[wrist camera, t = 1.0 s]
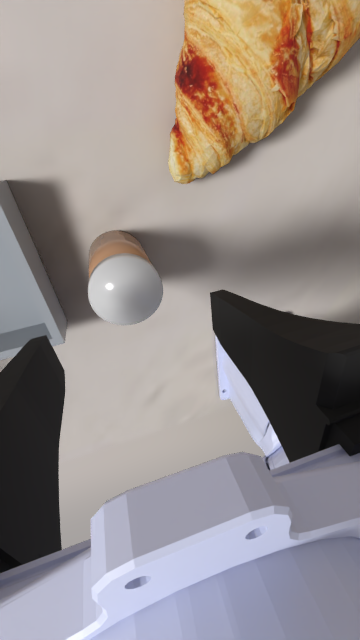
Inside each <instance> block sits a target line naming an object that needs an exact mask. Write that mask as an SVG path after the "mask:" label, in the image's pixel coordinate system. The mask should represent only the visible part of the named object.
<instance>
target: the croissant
mask: <svg viewBox="0 0 360 640" xmlns="http://www.w3.org/2000/svg"><path fill="white" fill-rule="evenodd" d="M184 18H185V39H184V43H183V46H182V50H181V52H180V55H179V62H178V65H177V69H176V75H175V86H176V100H177V101H176V108H175V112H176V117H177V118H176V119H175V125H174V127H173V128H172V131H171V133H170V154H169V160H168V163H169V171H170V173H171V175H172V177H173V179H174V181H175V182H178V183H181V184H187V183H190V182H192V181H194V179H195V178H203V177H205V175H206V174H207V173H208V172H210V173H212V174H214V173H215V172H217V171H218V170H219V169H220V167H222V166H224V165H226V164H228V163H229V162H230V160H231V158H232V156H233V155H236V154H237V153H238V152H240V151H241V150H242V149H243V148H245V147H246V146H247V145H248V144H249V143H256V142H258V141H260V140H261V139H263V138H266V137H268V136H269V135H270V134H271V133H272V132H273V130H274V129H275V128H276V127H278V126H279V125H280V124H281V123H283V122H284V120H285V119H286V117H287V116H288V115H289V114H290V112H292V111H293V110H294V108H295V104H296V100H297V98H298V97H300V96H301V95H302V94H303V93H304V92H305V91H306V89H308V88H310V87H311V86H312V84H313V83H314V82H315V81H317V80H319V79H320V78H321V77H322V76H323V75H324V74H326V73H327V72H328V71H329V70H330V69H331V68H333V67H334V66H335V65H336V64H337V63H338V62H339V61H340V60H341V59H342V58H343V56H344V55H345V54H346V53H347V52H348V50H349V49H350V48H351V47H352V46H353V45H354V44H355V43H356V41H357V40H358V39H359V38H360V0H185V6H184Z"/></svg>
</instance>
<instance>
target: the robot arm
mask: <svg viewBox="0 0 360 640" xmlns="http://www.w3.org/2000/svg"><path fill="white" fill-rule="evenodd" d="M210 297H211V310H212V324H213V330H214V332H215V334H216V335H215V341H216V355H217V369H218V384H219V396H220V399H221V400H226V399H229V398H230V400H231V402H232V403H233V405H234V407H235V409H236V410H237V412H238V414H239V415H240V417H241V419H242V421H243V423H244V424H245V426H246V428H247V430H248V432H249V433H250V435H251V437H252V438H253V440H254V441H255V443H256V444H257V445H258V446H260V447H261V448H262V450H263V452H264V453H265V456H264V457H263V458H261V456H258V455H253V454H249V453H245V452H239V453H234V454H229V455H224V456H221V457H218V458H216V459H213V460H210V461H207V462H204V463H202V464H199V465H196V466H193V467H191V468H188V469H185V470H182V471H180V472H177V473H174V474H171V475H168V476H166V477H163V478H160V479H158V480H155V481H152V482H149V483H146V484H144V485H141V486H138V487H135V488H133V489H130V490H127V491H125V492H123V493H121V494H119V495H117V496H115V497H113V498H112V499H110V500H108V501H106V502H105V504H104V505H103V506H102V507H101V508H100V509H99V510H98V511H97V513H96V514H95V515H94V516H93V517H92V518H91V539H89V540H86V541H84V542H81V543H78V544H76V545H73V546H71V547H68V548H65V549H63V550H62V549H61V535H60V514H59V481H58V480H59V479H58V460H59V439H60V430H61V422H62V414H63V406H64V397H65V374H64V369H63V367H62V365H61V363H60V361H59V359H58V357H57V355H56V353H55V351H54V349H53V347H52V345H51V343H50V341H49V339H48V337H47V335H44V336H40V337H36V338H33V339H30V340H29V341H28V342H27V343H26V344H25V345H24V346H23V348H22V349H21V350H20V351H19V352H18V353H17V354H16V356H15V357H14V358H13V359H12V360H11V361H10V362H9V363H8V365H7V366H6V367H5V368H4V369H3V370H2V371H1V372H0V640H360V324H351V323H340V322H332V321H324V320H318V319H312V318H307V317H302V316H298V315H294V314H290V313H286V312H282V311H279V310H276V309H273V308H270V307H267V306H264V305H261V304H258V303H256V302H253V301H251V300H248V299H246V298H243V297H241V296H238V295H236V294H234V293H231V292H228V291H226V290H220V291H216V292H212V293H210Z"/></svg>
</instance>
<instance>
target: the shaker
mask: <svg viewBox="0 0 360 640" xmlns="http://www.w3.org/2000/svg"><path fill="white" fill-rule="evenodd" d="M162 296H163V285H162V281H161V279H160V276H159V275H158V273H157V271H156V269H155V268H154V267H153V265H152V264H151V262H150V260H149V258H148V257H147V255H146V253H145V251H144V249H143V247H142V246H141V244H140V242H139V241H138V240H137V239H136V238H135V237H134V236H132V235H131V234H129V233H126V232H123V231H109V232H106V233H103V234H102V235H100V236H99V237H97V238H96V239H95V240H94V242H93V243H92V245H91V247H90V250H89V282H88V297H89V302H90V304H91V307H92V308H93V310H94V311H95V313H96V314H97V315H98V316H99V317H101V318H102V319H104V320H105V321H107V322H110V323H112V324H116V325H132V324H136V323H139V322H142V321H144V320H145V319H147V318H149V317H150V316H151V315H152V314H153V313H154V312H155V311H156V310H157V308H158V307H159V305H160V303H161V300H162Z"/></svg>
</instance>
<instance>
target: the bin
mask: <svg viewBox="0 0 360 640" xmlns="http://www.w3.org/2000/svg"><path fill="white" fill-rule="evenodd" d="M66 328H67V319H66V317H65V314H64V312H63V310H62V308H61V305H60V303H59V301H58V298H57V296H56V294H55V291H54V289H53V287H52V284H51V282H50V280H49V278H48V275H47V273H46V271H45V268H44V266H43V264H42V261H41V259H40V257H39V255H38V252H37V250H36V248H35V245H34V243H33V241H32V238H31V236H30V234H29V231H28V229H27V227H26V225H25V222H24V220H23V218H22V215H21V213H20V211H19V208H18V206H17V204H16V202H15V199H14V197H13V195H12V192H11V190H10V188H9V185H8V183H7V181H6V180H4V181H0V360H3V359H6V358H10V357H14V356H16V354H17V353H18V352H19V351H20V350H21V349H22V348H23V346H24V345H25V344H26V343H27V342H28V341H29V340H30V339H33V338H36V337H40V336H44V335H47V337H48V339H49V341H50V343H51V345H52V346H56V345H59V344H63V343H65V337H66Z"/></svg>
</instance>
